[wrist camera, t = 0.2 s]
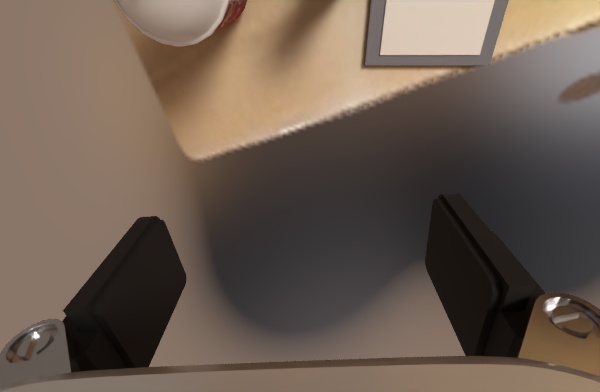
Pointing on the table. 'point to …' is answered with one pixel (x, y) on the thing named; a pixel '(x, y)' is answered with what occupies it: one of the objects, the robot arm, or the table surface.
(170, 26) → the smoothie
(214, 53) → the table surface
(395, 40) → the clipboard
